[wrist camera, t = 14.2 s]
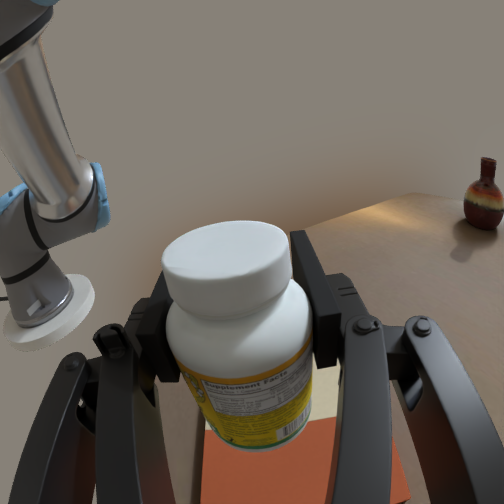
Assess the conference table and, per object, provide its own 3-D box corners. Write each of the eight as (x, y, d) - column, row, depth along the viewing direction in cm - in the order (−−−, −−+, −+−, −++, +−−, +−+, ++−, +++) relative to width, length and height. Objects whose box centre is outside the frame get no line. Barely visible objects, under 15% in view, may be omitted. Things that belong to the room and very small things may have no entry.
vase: (453, 215, 55) (458, 152, 48) (481, 213, 55) (487, 154, 47) (480, 235, 45) (490, 164, 38) (508, 231, 45) (517, 166, 38)
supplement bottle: (316, 450, 11) (330, 285, 6) (203, 454, 11) (110, 303, 7) (305, 367, 15) (298, 205, 11) (213, 374, 16) (165, 222, 11)
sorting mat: (202, 530, 13) (198, 529, 13) (213, 357, 31) (211, 352, 30) (407, 500, 13) (411, 498, 12) (352, 339, 30) (353, 333, 30)
